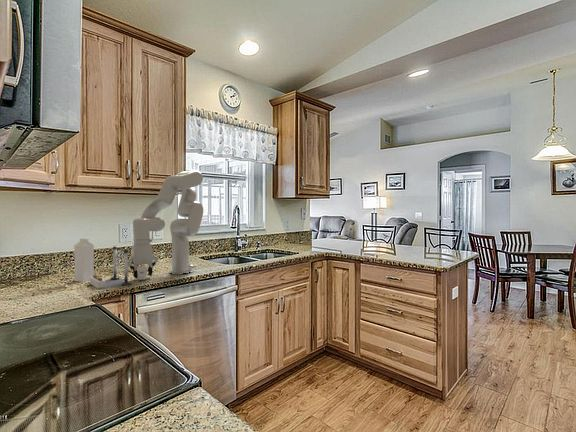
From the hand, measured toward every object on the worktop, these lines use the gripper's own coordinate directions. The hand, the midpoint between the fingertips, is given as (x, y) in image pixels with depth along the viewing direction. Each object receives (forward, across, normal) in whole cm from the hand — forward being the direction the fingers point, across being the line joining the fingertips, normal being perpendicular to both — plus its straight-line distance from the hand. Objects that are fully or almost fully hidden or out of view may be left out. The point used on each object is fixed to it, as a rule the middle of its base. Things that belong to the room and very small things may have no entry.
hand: (143, 276), depth 169 cm
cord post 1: (+1, +11, -8) cm, 14 cm away
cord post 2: (+1, +11, +9) cm, 14 cm away
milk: (+2, +23, -16) cm, 28 cm away
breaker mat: (+2, +16, 0) cm, 16 cm away
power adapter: (+1, 0, 0) cm, 1 cm away
